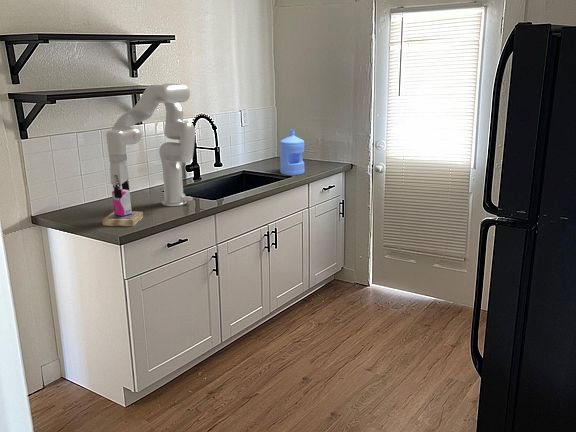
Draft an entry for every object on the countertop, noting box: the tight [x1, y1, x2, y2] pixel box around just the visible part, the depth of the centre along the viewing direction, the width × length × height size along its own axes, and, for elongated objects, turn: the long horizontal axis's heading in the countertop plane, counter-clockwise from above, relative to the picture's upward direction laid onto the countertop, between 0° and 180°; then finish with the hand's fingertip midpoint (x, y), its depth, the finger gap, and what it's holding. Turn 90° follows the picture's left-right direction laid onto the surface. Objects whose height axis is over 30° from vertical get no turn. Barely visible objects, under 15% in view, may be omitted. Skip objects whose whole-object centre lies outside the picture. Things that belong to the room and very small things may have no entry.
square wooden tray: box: [101, 211, 144, 227], centre depth 256 cm, size 14×14×3 cm
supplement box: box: [111, 188, 133, 217], centre depth 254 cm, size 6×6×12 cm
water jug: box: [279, 128, 306, 176], centre depth 355 cm, size 16×16×28 cm
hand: (122, 194), depth 254 cm, fingers open, 9 cm apart
